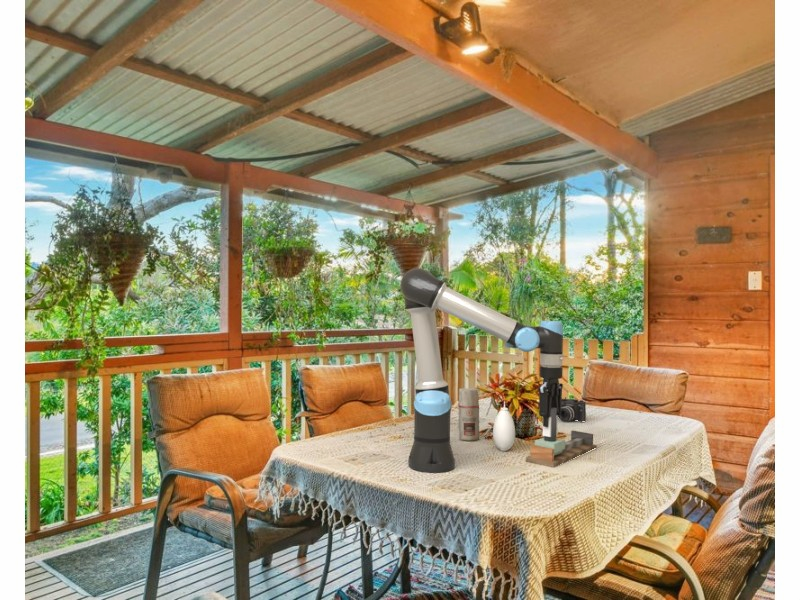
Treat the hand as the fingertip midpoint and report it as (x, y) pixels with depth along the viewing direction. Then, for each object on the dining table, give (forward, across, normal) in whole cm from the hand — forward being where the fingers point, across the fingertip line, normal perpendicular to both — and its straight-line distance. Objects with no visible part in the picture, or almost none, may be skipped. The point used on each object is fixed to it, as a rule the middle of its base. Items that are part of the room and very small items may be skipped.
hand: (550, 434), depth 190 cm
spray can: (+9, +5, +37) cm, 38 cm away
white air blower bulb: (+9, 0, +18) cm, 20 cm away
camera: (+9, +68, +26) cm, 73 cm away
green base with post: (+6, 0, 0) cm, 6 cm away
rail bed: (+9, +10, 0) cm, 13 cm away
